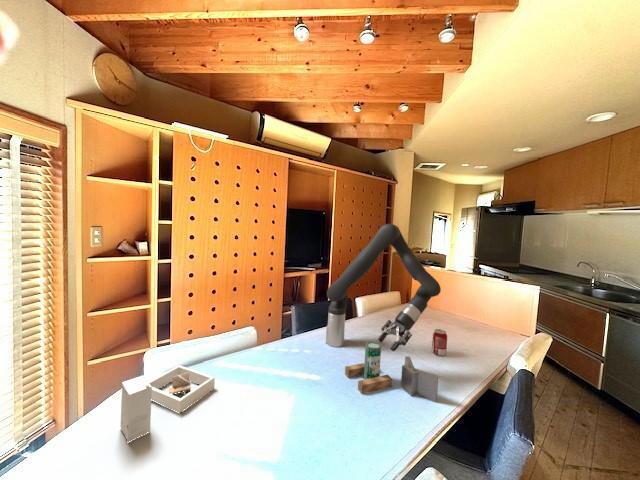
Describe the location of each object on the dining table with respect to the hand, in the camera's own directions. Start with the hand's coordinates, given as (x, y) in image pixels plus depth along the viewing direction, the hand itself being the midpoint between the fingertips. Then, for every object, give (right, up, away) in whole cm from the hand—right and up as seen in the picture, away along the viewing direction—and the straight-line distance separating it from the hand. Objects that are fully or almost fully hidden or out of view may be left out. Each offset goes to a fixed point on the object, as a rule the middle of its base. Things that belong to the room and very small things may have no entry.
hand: (385, 345), depth 112 cm
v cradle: (+10, -15, -7) cm, 19 cm away
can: (-6, -14, -2) cm, 15 cm away
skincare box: (-84, -13, -33) cm, 91 cm away
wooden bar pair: (-8, -14, -2) cm, 16 cm away
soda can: (+34, -14, +24) cm, 44 cm away
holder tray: (-80, -12, -15) cm, 82 cm away
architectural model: (-79, -12, -15) cm, 82 cm away
